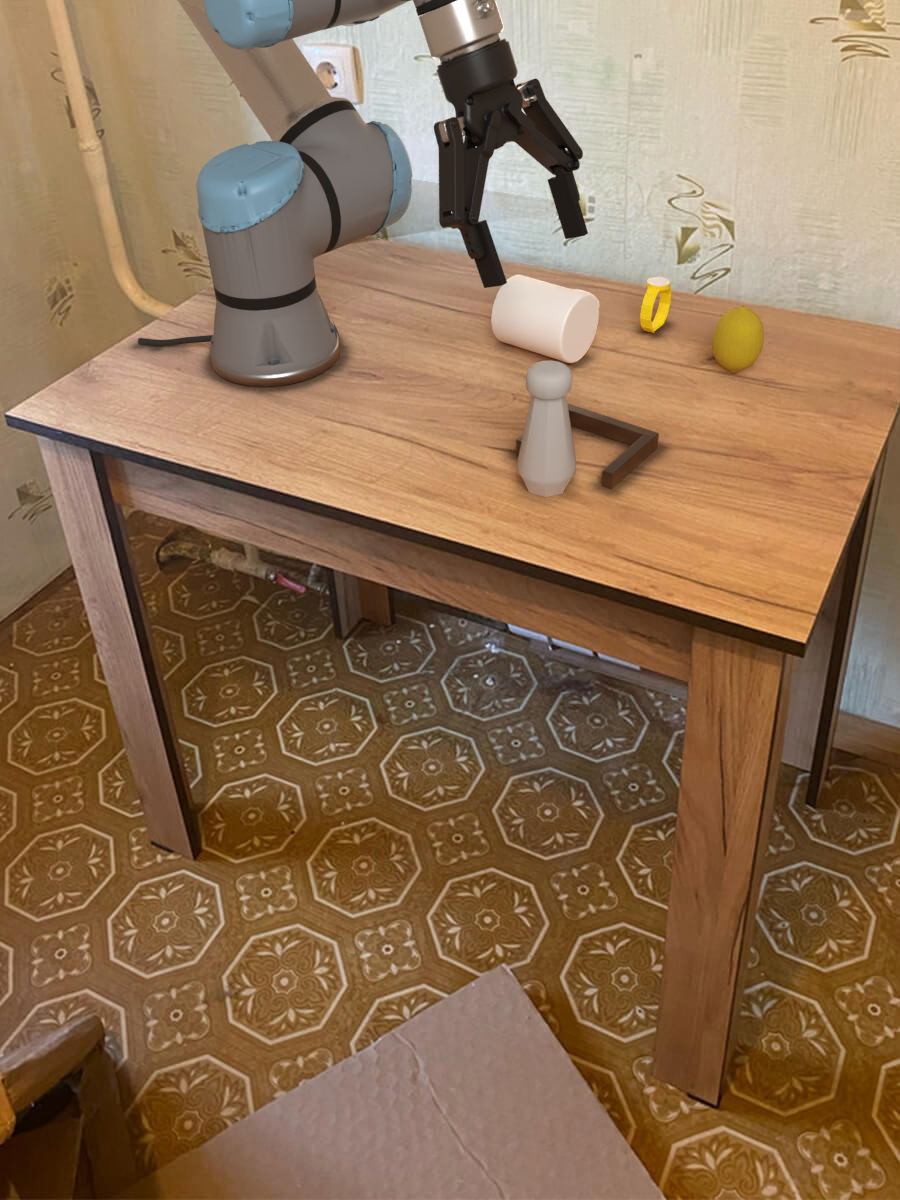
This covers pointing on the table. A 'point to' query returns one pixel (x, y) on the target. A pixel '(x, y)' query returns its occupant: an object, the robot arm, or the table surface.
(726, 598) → the table surface
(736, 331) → the lemon
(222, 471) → the table surface
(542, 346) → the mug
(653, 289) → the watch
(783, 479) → the table surface
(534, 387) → the salt shaker
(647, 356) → the table surface
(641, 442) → the walnut stop
